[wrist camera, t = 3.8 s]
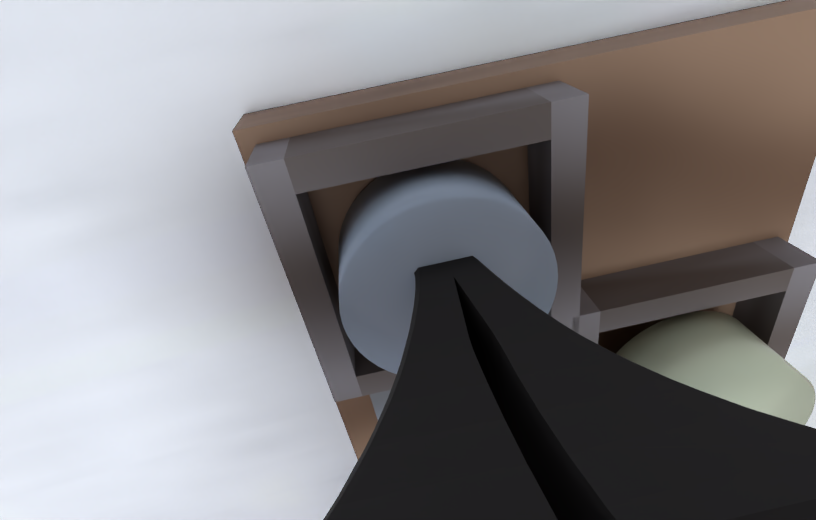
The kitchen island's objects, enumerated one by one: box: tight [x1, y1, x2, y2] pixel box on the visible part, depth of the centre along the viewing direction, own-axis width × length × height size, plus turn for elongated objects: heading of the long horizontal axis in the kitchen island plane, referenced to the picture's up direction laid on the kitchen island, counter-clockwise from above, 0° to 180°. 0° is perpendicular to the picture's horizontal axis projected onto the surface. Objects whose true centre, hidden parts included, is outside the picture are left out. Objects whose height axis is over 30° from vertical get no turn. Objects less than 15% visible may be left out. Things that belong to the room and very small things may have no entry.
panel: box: [232, 0, 816, 460], centre depth 16 cm, size 20×15×3 cm
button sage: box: [616, 311, 815, 425], centre depth 14 cm, size 5×5×2 cm
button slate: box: [338, 160, 558, 374], centre depth 11 cm, size 5×5×2 cm
